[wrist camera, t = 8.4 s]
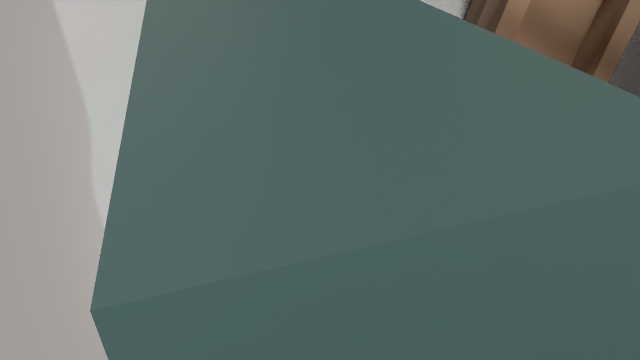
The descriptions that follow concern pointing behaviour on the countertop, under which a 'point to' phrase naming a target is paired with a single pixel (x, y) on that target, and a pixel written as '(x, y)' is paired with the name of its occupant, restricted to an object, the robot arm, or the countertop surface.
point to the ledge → (564, 29)
